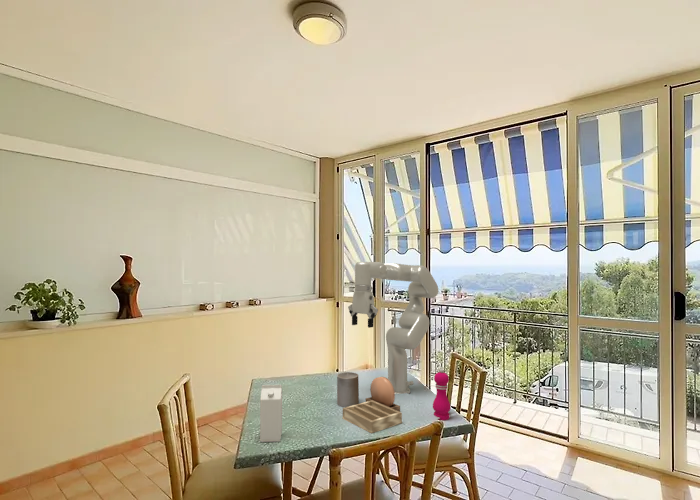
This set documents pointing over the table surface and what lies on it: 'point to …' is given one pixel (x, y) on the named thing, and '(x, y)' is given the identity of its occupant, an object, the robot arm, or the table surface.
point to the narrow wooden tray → (394, 406)
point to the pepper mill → (441, 396)
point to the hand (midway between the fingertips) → (362, 326)
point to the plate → (382, 391)
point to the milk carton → (271, 413)
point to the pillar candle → (347, 389)
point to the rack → (372, 416)
